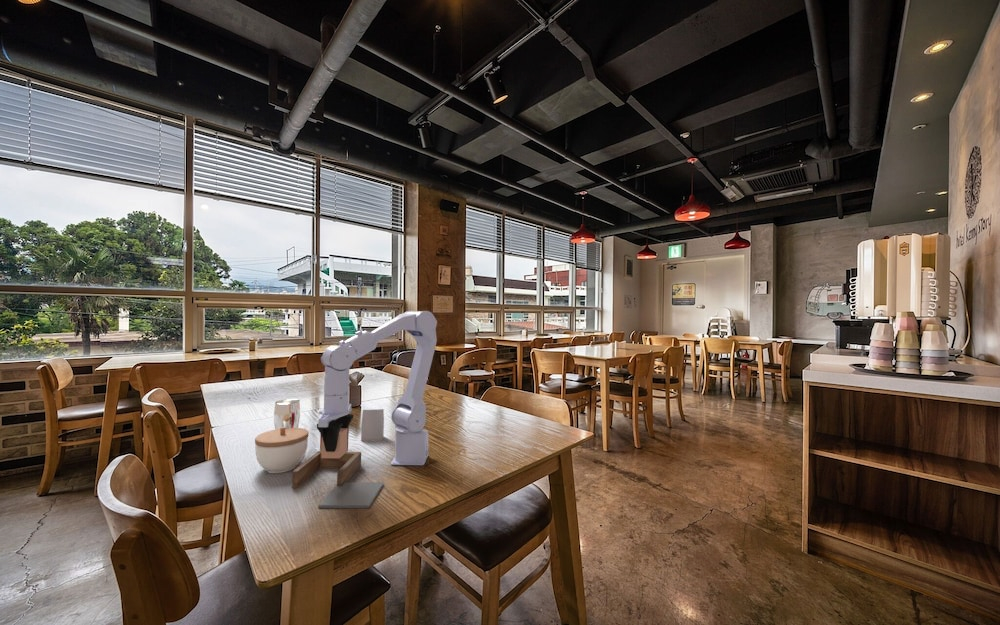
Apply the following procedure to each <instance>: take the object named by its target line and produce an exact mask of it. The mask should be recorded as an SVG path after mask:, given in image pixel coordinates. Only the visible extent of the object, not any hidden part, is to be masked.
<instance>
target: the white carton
mask: <svg viewBox="0 0 1000 625" xmlns="http://www.w3.org/2000/svg"><path fill="white" fill-rule="evenodd" d="M300 404H301V403H300V399H297V398H287V399H280V400H277V401H275V404H274V410H273V411H274V412H273V413H274V414H273V424H274V430H276V429H280V428H281V427H285V428H299V424H300V417H301V406H300Z"/></svg>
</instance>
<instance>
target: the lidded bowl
mask: <svg viewBox="0 0 1000 625" xmlns="http://www.w3.org/2000/svg"><path fill="white" fill-rule="evenodd" d="M308 441H309V430H308V429H306V428H301V427H298V428H285V427H281V428H280V429H276V430H275V429H271V430H268V431H264V432H262V433H260V434H258V435H256V436H255V438H254V445H255V450H254V451H255V457H256V460H257V462H258V465H260V467H261V468H263V469H264V470H266V472H267V473H268V474H269V473H270V474H280V473H281V474H282V473H287V472H289V471H293V469H294V470H295V469H296V468H297V467H298V466H297V465H298V464H299V463H300V462H301V461H302V460H303V459H304V457H305V455H306V452H307V448H308V443H309V442H308Z"/></svg>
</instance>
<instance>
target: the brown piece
mask: <svg viewBox="0 0 1000 625" xmlns="http://www.w3.org/2000/svg"><path fill="white" fill-rule="evenodd" d="M361 466H362V452H361V451H347V452H346V453H345V454H344V455H343V456H342V457H340V458H321V451H320V450H318V451H316V452H315V453H314V454H313V455H311V456H310V457H309V458H307V459H306V460H305V461H304V462H302V463H301V464H300V465H299V466H296V467H295V468H294V470H292V475H291V476H292V479H291V480H292V483H291V488H293V489H298V488H299V487H300V486H301V485H302V484H303V483H304V482H306V481H307V480H308V479H309V478H310V477H311V476H313V474H315V472H316V471H318V470H319V469H320V468H329V469H330V468H333V469H334V468H335V469H337V468H338V469H339V468H340V469H339V470H337V472H336V473H337V474H336V475H337V476H336V480H337V481H336V485H337V486H342V485H343V484H344V483H345V482H350V480H351V478H352V477H353V476H354V475H355V474H356V473H357V471H358V470H359V469H360V468H361Z"/></svg>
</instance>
